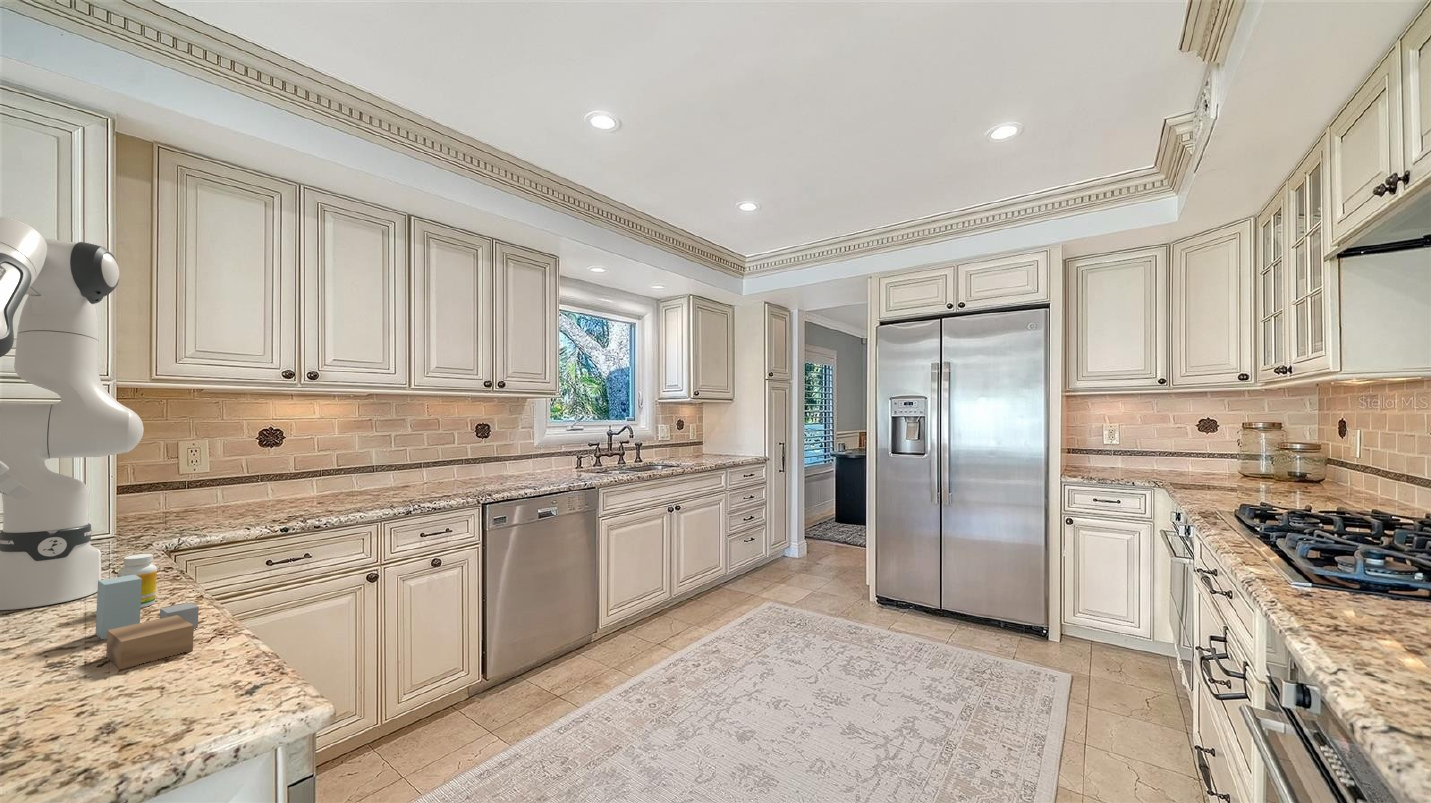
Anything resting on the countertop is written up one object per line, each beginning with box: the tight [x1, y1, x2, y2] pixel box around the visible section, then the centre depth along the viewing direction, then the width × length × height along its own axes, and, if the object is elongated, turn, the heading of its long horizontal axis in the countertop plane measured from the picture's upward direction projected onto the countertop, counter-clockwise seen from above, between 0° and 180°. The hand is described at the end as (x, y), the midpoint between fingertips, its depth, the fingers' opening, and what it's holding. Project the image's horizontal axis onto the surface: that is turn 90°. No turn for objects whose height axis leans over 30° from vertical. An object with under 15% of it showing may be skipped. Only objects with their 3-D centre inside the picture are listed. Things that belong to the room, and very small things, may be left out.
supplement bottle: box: [117, 553, 158, 609], centre depth 109 cm, size 5×5×10 cm
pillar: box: [95, 575, 142, 640], centre depth 96 cm, size 4×4×9 cm
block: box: [159, 602, 200, 629], centre depth 97 cm, size 4×4×4 cm
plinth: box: [105, 615, 195, 670], centre depth 87 cm, size 8×8×4 cm
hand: (20, 494), depth 87 cm, fingers open, 8 cm apart
